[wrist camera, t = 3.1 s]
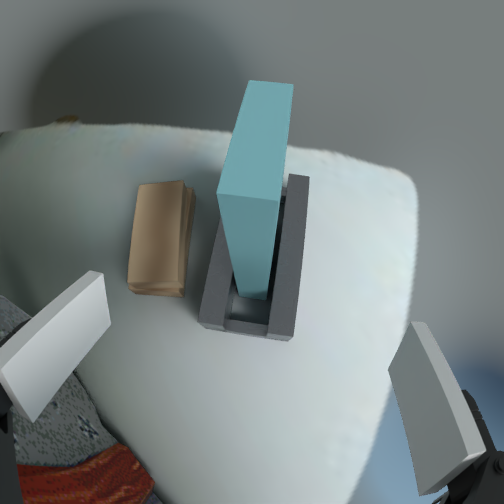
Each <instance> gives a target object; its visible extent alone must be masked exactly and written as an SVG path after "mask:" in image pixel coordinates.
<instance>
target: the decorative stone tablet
mask: <svg viewBox="0 0 504 504" xmlns="http://www.w3.org/2000/svg"><path fill="white" fill-rule="evenodd" d="M30 318H32V317H31V316H29V315H28V314H27V313H25V312H24V311H22V310H21V309H20V308H18V307H17V306H16V305H14V304H13V303H12V302H11V301H9V300H8V299H7V298H5V297H4V296H2V295H0V341H1V340H2V339H3V338H6V336H7V335H8V334H9V333H10V332H12V330H13V329H14V328H15V327H16V326H18V325H19V324H20V323H22V322H24V321H26V320H28V319H30ZM10 410H11V411H12V415H13V434H14V446H15V455H16V463H17V470H18V477H19V482H20V488H21V493H22V498H23V502H24V504H163V503H162V502H161V501H160V500H159V499H158V497H157V496H156V495H155V494H154V493H153V488H154V484H155V482H154V480H153V479H152V478H151V477H150V476H149V474H148V473H147V472H146V471H145V469H144V468H143V467H142V466H141V464H140V463H139V462H138V460H137V459H136V458H135V456H134V455H133V454H132V452H131V451H130V450H129V448H128V447H126V446H124V445H122V444H120V443H118V442H117V440H116V439H115V438H114V437H113V436H112V435H111V434H110V433H109V432H108V431H107V430H106V429H105V428H104V427H103V426H102V425H101V422H100V419H99V417H98V414H97V412H96V409H95V407H94V405H93V403H92V402H91V400H90V398H89V397H88V395H87V393H86V391H85V390H84V388H83V387H82V385H81V384H80V382H79V381H78V379H77V378H76V376H75V375H74V373H73V372H72V373H71V374H70V375H69V376H68V378H67V379H66V380H65V382H64V383H63V384H62V385H61V387H60V388H59V389H58V391H57V392H56V393H55V395H54V396H53V397H52V399H51V400H50V401H49V403H48V404H47V405H46V407H45V408H44V409H43V411H42V412H41V413H40V415H39V416H38V417H37V419H36V420H35V422H34V423H32V422H31V421H29V420H27V419H26V418H24V417H23V416H21V415H20V414H19V413H18V411H17V410H16V408H15V406H14V405H12V406H11V408H10Z"/></svg>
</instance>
